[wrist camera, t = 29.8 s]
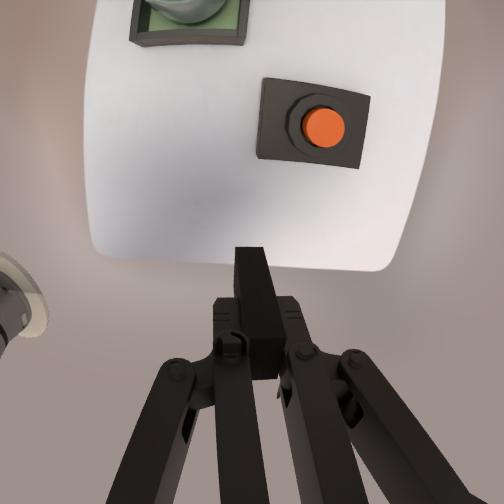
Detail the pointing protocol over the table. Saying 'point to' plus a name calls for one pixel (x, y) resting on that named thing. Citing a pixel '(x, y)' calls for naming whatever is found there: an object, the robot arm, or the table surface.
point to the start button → (323, 127)
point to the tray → (189, 26)
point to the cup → (186, 9)
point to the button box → (291, 119)
